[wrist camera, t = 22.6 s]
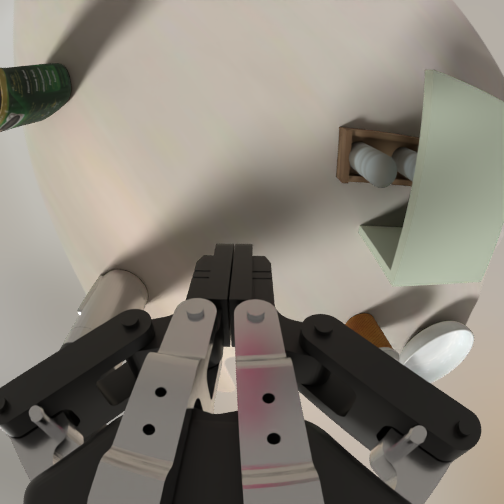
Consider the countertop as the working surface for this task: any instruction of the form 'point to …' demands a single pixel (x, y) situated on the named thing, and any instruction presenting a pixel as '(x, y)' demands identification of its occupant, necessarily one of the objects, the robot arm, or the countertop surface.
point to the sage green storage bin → (449, 191)
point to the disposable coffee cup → (371, 332)
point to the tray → (374, 142)
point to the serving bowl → (437, 349)
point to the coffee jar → (32, 93)
